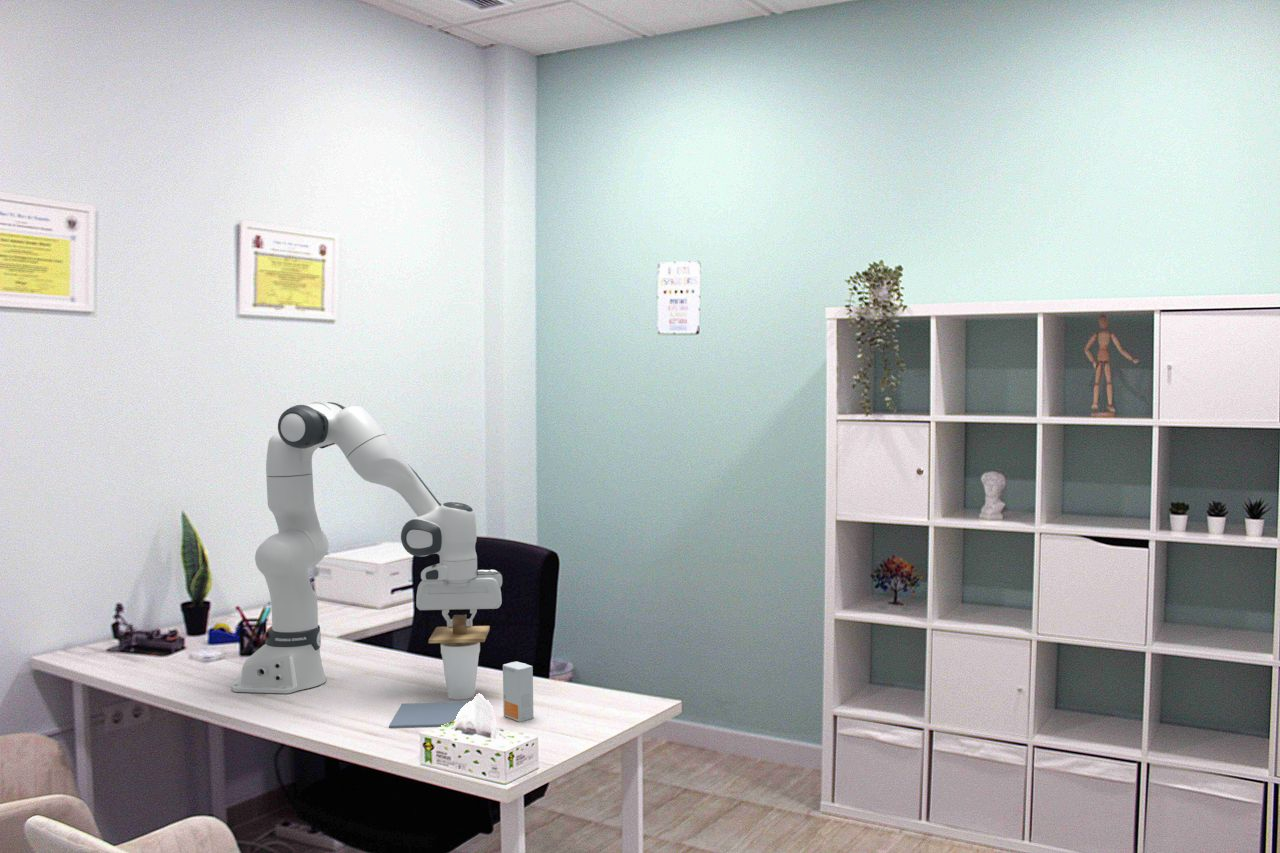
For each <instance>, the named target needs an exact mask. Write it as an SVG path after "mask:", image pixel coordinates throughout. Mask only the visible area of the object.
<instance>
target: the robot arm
mask: <svg viewBox="0 0 1280 853" xmlns="http://www.w3.org/2000/svg"><path fill="white" fill-rule="evenodd" d="M333 445H336V446H337V447H338V448H339V449H340V450H341V452H342V453H343V455H344V456H345V459H346V460H347V461H348V463H349V464H350V466H351V467H352V469H353V470H354V471H355V473H356V474H357V475H358V476H359V477H360V478H361V479H363V480H364V481H366V482H369V483H372V484H376V485H381V486H383V487H387V488H390V489H392V490H394V491H395V492H396V493H398V494H399V495H400V496H401V497H402V498H403V499H404V501H405V502H406V503H407V504H408V505H409V507H410V509H411V510H412V511H413V512H414V514H415V515H416V516H417V517H414V518H412V519H410V520H408V521H406V522H405V523H404V525H403V527H402V529H401V532H400V540H401V544H402V546H403V548H404V550H405V551H406V552H407V553H408V554H410V555H411V556H414V557H420V558H421V557H427V556H430V555H435V554H437V555H438V556H439V563H436V564H433V565H430V566H426V567H425V568H424V569H422V571H421V572H420V579H421V581H420V582H419V584H418V586H417V589H416V590H417V591H416V599H415V600H416V601H415V604H416V605H415V606H416V608H417V609H418V610H419V611H441V615H442V617H443V619H444V620H445V621H446V627H447V628H453V618H451V617H450V615H449V613H450V610H469V614H471V616H470V617H469V618H467V619H466V628H472V626H473V619H474V618H475V616H476V614H477V610H490V609H491V610H495V609H499V608H500V607H501V605H502V602H503V600H502V591H501V587H502V585H503V575H502V574H501V573H502V572H500V571H498V570H496V569H478V555H477V552H476V543H477V538H478V537H477V523H476V522H477V521H476V515H475V512H474V509H473V507H471V506H470V505H468V504H466V503H462V502H456V501H455V502H453V501H452V502H451V501H449V502H444V503H441V502H440V501H439V500H438V499H437V498H436V497H435V495H434V494H433V492H432V491H431V490H430V488H429V487H428V486H427V485H426V483H425V482H424V481H423V480H422V479H421V477H420V476H419V475H418V473H417V472H416V471H415V469H413V467H412V466H410V464H409V462H407V461H406V460H405V458H404V457H403V456H402V455H401V453H400V452H399V451H398V450H397V448H396V447H395V446H394V444H393V442H391V440H390V438H389V437H388V435H387V433H386V432H385V431H384V430H383V428H382V426H381V425H380V424H379V423H378V422H377V421H376V419H375V418H374V417H373V416H372V415H371V414H370V413H369V412H368V411H367V410H366V409H365V408H364V407H362V406H360V405H351V406H348V407H345V406H343V405H342V404H339V403H337V402H321V401H320V402H316V401H315V402H310V403H304V404H297V405H296V404H295V405H293V406H291V407H289V408H287V409H285V410H284V411H283V412H282V413H281V415H280V416H279V418H278V422H277V432H276V433H274V434H273V435H272V436H271V437H270V438H269V440H268V444H267V452H266V463H265V468H266V469H265V471H266V473H265V475H266V478H265V479H266V494H267V496H266V498H267V507H268V509H269V511H270V512H271V513H272V515H273V517H274V519H275V522H276V525H277V529H278V533H275V534H272V535H271V536H269V537H268V538H266V539H265V540H264V541H263V542H262V543H261V544H260V545H259V546H258V547H257V549H256V551H255V554H254V555H255V556H254V561H255V566H256V567H257V569H258V571H259V572H260V573H261V574H262V575H263V576H264V578H265V581H266V585H267V588H268V592H269V598H270V606H271V607H270V608H271V626H269V627H268V628H267V630H266V631H264V634H263V635H262V636H263V637H262V639H263V640H264V642H265V643H264V644H263V645H262V646H261V647H260V648H258V649H257V650H256V651H254V653H252V654H251V655H249V657H247V658H246V659H245V661H244V663H243V665H242V668H241V673H240V674H241V676H239V677H238V678H237V679H235V680H234V682H232V684H231V691H232V692H235V693H258V694H259V693H260V694H264V693H265V694H291V693H295V692H298V691H301V690H302V691H303V690H307V689H310V688H315V687H317V686H321V685H323V684H325V682H326V681H327V676H326V674H325V672H324V671H325V670H324V666H323V663H322V662H323V661H322V656H321V650H320V648H321V645H322V637H321V636H322V633H321V627H320V625H319V615H318V614H319V612H318V611H319V608H318V606H319V605H318V595H317V592H316V591H315V590H314V589H313V587H312V585H311V582H310V578H309V569H310V568H313V567H316V565H318V564H319V563H320V562H321V561H322V560H323V559H324V558H325V556H326V555H327V553H328V550H329V539H328V537H327V535H326V534H325V532H324V531H323V530H322V527H321V525H320V521H319V517H318V514H317V510H316V505H315V504H316V503H315V496H314V495H315V494H314V478H313V475H314V474H313V455H314V453H315V451H316V450H317V449H318V448H319V449H325V448H327V447H331V446H333Z"/></svg>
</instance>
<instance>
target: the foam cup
mask: <svg viewBox="0 0 1280 853" xmlns="http://www.w3.org/2000/svg"><path fill="white" fill-rule="evenodd" d="M480 652H481V642H463V643H440V654H441V658H442V664H443V671H444V678H445V684H446V691H447V697H448V698H450V699H452V700H467V699H470V698H473V697H474V696H475V692H476V687H477V686H476V685H477V675H478V667H479V666H478V665H479V656H480Z"/></svg>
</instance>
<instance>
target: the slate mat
mask: <svg viewBox="0 0 1280 853" xmlns="http://www.w3.org/2000/svg"><path fill="white" fill-rule="evenodd" d="M468 702H469V701H454V702H453V701H450V702H446V701H445V702H443V701H442V702H412V703H411V702H408V703H407V702H404V703H401V704H400V706H399V707H398V710H397V711H396V713H395V715H394V716H393V717H392V720H391V722H390V723H389V725H388V728H389V729H395V728H396V729H398V728H399V729H400V728H401V729H402V728H405V729H407V728H434V727H435V728H438V727H439V726H441V725H444V724H447V723H450V722H453V721H454V720H455V719H456V716H457V714H458V712H459V711H460V709H461V708H462V707H463V706H464V705H465V704H466V703H468Z"/></svg>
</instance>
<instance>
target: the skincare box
mask: <svg viewBox="0 0 1280 853" xmlns="http://www.w3.org/2000/svg"><path fill="white" fill-rule="evenodd" d="M533 670H534V668H533V665H530V664H527V663H524V662H520V661H511V662H508V663H504V664H502V691H503V692H502V695H503V696H502V701H503V704H502V705H503V706H502V708H503V711H502V712H503V717H506V718H509V719H511V720H514V721H517V722H519V723H521V722H525V721H527V720H532V719H534V676H533V674H534V672H533Z"/></svg>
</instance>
